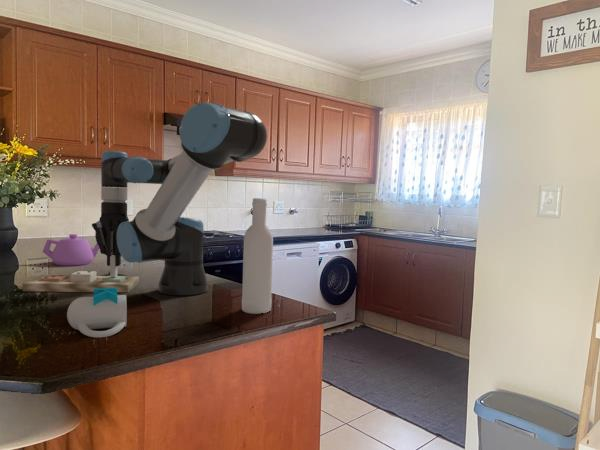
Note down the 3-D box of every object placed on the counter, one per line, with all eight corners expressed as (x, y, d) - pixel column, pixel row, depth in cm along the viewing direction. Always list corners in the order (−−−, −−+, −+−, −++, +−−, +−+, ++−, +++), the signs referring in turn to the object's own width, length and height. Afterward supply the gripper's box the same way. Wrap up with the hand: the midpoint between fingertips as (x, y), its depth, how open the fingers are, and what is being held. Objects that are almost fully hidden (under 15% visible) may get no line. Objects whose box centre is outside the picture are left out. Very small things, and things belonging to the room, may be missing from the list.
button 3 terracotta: (66, 283, 142) (66, 274, 141) (59, 286, 136) (59, 277, 136) (48, 283, 141) (48, 274, 141) (39, 286, 135) (39, 277, 135)
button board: (138, 283, 148) (138, 276, 148) (127, 292, 135) (127, 284, 135) (43, 282, 144) (43, 275, 144) (22, 291, 131) (22, 283, 131)
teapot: (40, 267, 171) (40, 236, 171) (44, 261, 185) (44, 232, 185) (102, 265, 180) (103, 235, 180) (102, 259, 195) (102, 232, 194)
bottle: (247, 315, 114) (250, 198, 112) (237, 307, 121) (240, 197, 119) (276, 312, 118) (279, 199, 116) (264, 305, 125) (267, 198, 123)
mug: (67, 284, 98) (126, 281, 103) (68, 317, 102) (125, 313, 107) (63, 318, 88) (128, 313, 93) (64, 353, 92) (126, 347, 97)
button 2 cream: (96, 279, 143) (96, 270, 142) (90, 282, 137) (90, 273, 137) (78, 279, 142) (78, 270, 142) (71, 282, 136) (71, 273, 136)
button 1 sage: (125, 284, 144) (125, 275, 143) (120, 287, 138) (120, 278, 138) (107, 283, 143) (107, 275, 143) (101, 287, 137) (101, 278, 137)
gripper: (139, 201, 143) (138, 274, 145) (96, 200, 142) (96, 273, 143) (132, 202, 136) (131, 278, 137) (88, 200, 134) (87, 278, 136)
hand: (113, 276), depth 140 cm, fingers closed
